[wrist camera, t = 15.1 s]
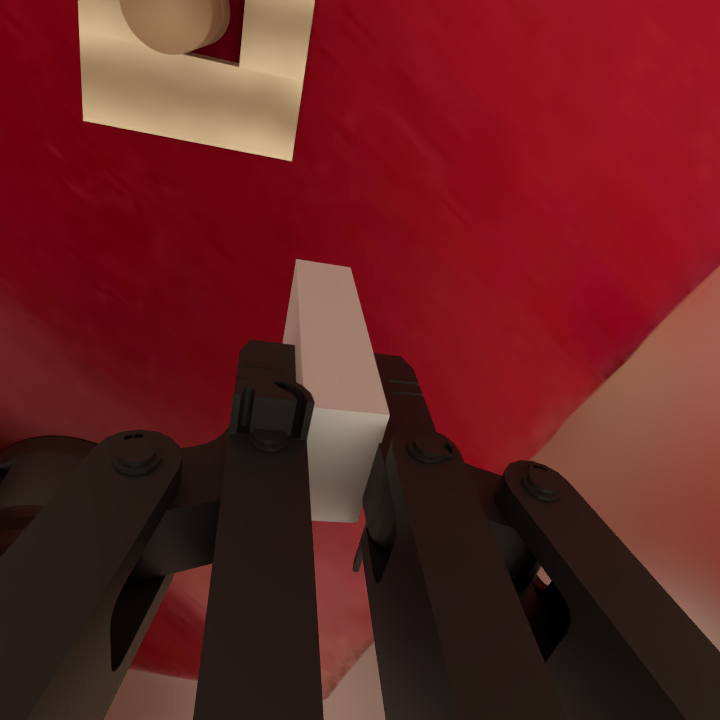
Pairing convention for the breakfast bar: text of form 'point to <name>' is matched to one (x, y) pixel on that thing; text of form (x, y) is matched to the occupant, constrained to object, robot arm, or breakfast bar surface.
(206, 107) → the board
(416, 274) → the breakfast bar surface
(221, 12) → the peg
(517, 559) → the robot arm
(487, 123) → the breakfast bar surface
